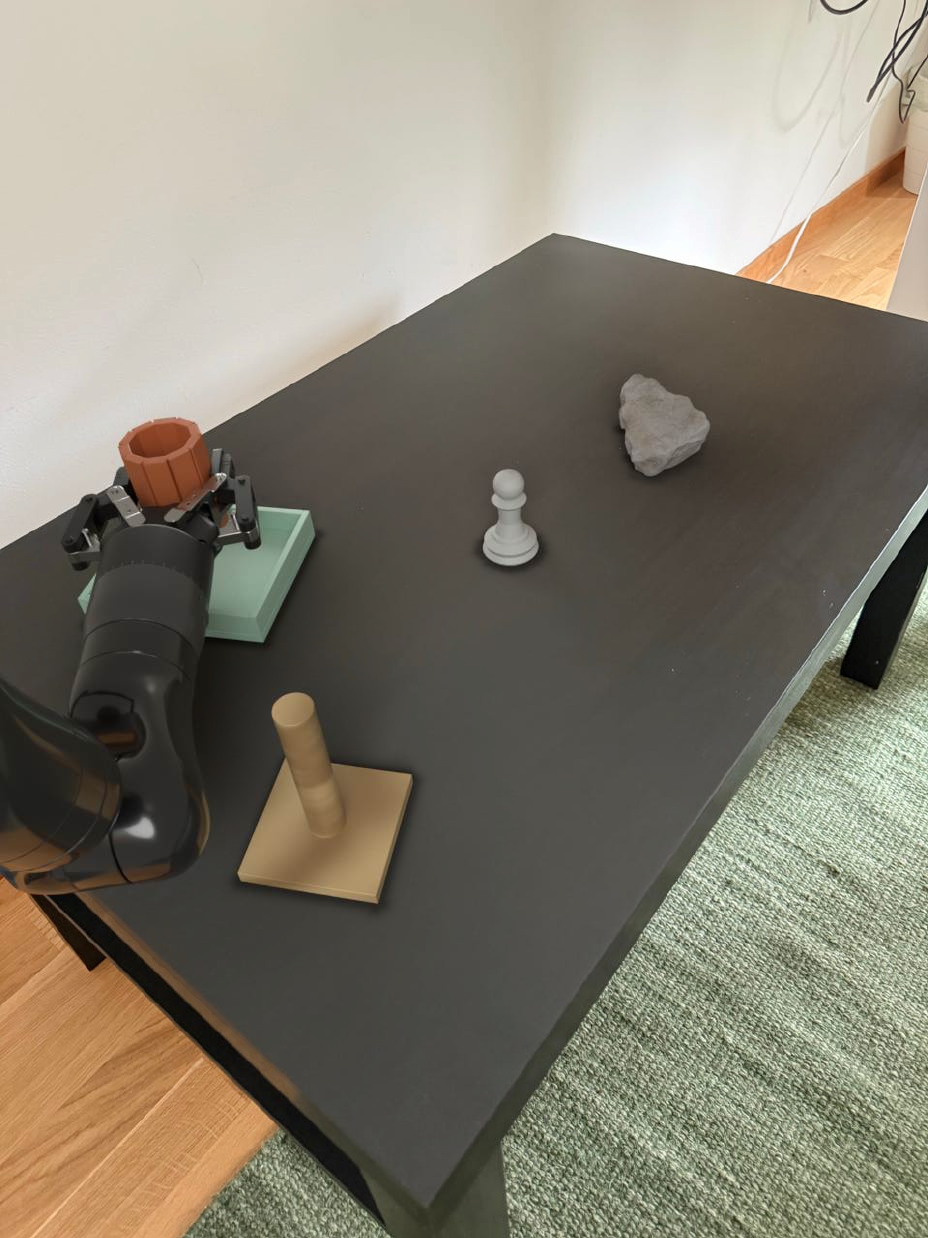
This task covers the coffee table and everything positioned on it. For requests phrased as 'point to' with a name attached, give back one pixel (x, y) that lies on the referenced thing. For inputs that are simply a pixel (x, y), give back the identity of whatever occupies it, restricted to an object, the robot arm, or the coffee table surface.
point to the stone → (659, 425)
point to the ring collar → (166, 461)
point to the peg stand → (324, 816)
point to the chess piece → (509, 523)
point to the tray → (253, 575)
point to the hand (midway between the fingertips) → (177, 463)
